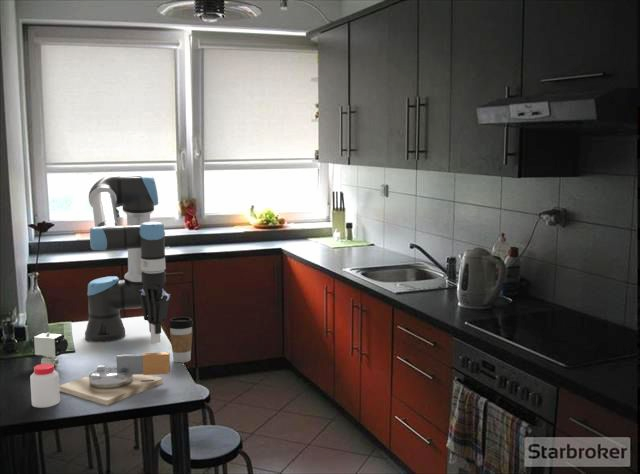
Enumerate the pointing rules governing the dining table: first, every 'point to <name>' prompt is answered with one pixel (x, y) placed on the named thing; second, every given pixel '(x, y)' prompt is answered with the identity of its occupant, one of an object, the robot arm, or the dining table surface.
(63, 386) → the light wood square board
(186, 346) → the coffee cup
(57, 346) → the pneumatic valve
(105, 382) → the silver saucepan
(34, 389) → the pill bottle
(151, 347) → the dining table surface
